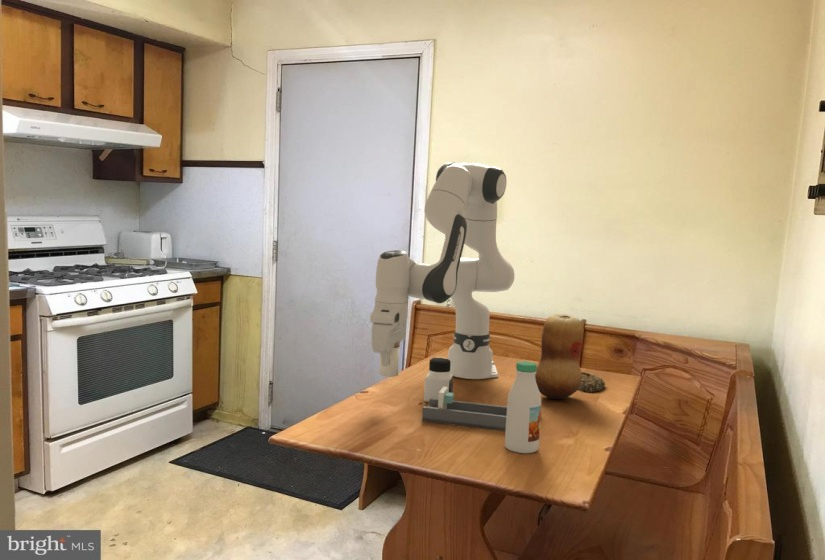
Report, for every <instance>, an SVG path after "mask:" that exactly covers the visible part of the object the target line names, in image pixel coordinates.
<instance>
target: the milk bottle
mask: <svg viewBox="0 0 825 560" xmlns="http://www.w3.org/2000/svg"><path fill="white" fill-rule="evenodd" d="M537 366H538V364H537V363H535V362H533V361H527V360H526V361H524V360H523V361H517V362H516V365H515V372H516V376H515V380H514V382H513V384H512V386H511V388H510V390H509V392H508V397H507V404H506V407H507V415H506V431H504V433H505V435H504V446H505V448H506V449H507V450H509V451H511V452H514V453H517V454H518V453H519V454H533V453H535V452H537V451H538V449H539V447H540V445H539V444H540V432H541V431H540V430H541V415H542V413H541V412H542V398H541V397H542V396H541V393H540V392H539V389H538V387H537V384H536V379H535V374H536V370H537Z"/></svg>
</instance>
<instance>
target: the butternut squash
mask: <svg viewBox="0 0 825 560" xmlns="http://www.w3.org/2000/svg"><path fill="white" fill-rule="evenodd" d="M543 324H544V325H543V328H542V334H541V344H540V346H541V347H540V348H541V351H540V352H541V355H540V360H539V362H538V364H537V370H536V374H535V379H536V384H537V387H538V389H539V392H540V395H542V396H544V397H546V398H548V399H555V400H565V399H566V398H568V397H570V396H572V395H573V394H575V393H576V392H578V391H579V390H578V389H579V387H580V385H581V379H582V373H581V372H582V370H581V366H580V363H579V361H580V356H581V353H582V350H583V345H584V343H583V342H584V333H585V330H584V322H582V321H581V320H580V319H579V318H577V317H575V316H572V315H569V314H566V313H563V314H562V313H561V314H560V313H555V314H551V315H549V317H547V319H546V320H545V322H544V323H543Z"/></svg>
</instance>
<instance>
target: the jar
mask: <svg viewBox="0 0 825 560" xmlns="http://www.w3.org/2000/svg"><path fill="white" fill-rule="evenodd" d="M400 346H401V342H400V341H397V342H396V343H395V345H394V347H393V348H392V349H391V350H390V353H389V359H390V364H389V365H388V366H382V358H381V354H380V353H379V362H378V364H379V366H378V367H379V368H378V375H379V376H381V377H386V378H387V377H388V378H391V377H397V376H399V364H400Z"/></svg>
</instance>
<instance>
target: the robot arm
mask: <svg viewBox="0 0 825 560" xmlns="http://www.w3.org/2000/svg"><path fill="white" fill-rule="evenodd" d="M506 188H507V175H506V174H505V172H504V170H503V168H502V169H501V168H499V167H497V166H493V165H491V166H488V165H485V164H481V163H474V162H472V163H469V162H467V163H466V162H462V163H460V162H459V163H457V162H454V161H451V162H445V163H444V164H442V165H441V166H440V167H439V168H438V170H437V172H436V176H435V182H434V185H433V186H432V188H431V190H430V193H429V194H428V196H427V199H426V201H425V205H424V215H425V218H426V220H427V222H428V224H430V225H431V226H432V227H433V228H434V229H436V230H437V231H439V232H440V233H442V234H443V235H444V237H445V238H444V243H443V247H442V249H441V254H440V257H439V260H438V261H437V262H435V263H434V264H430V263H422V262H417V261H415V260H413V259H412V258H411V257H409V255H408V252H406V251H404V250H388V251H384V252H382V253H381V254H380V255H379V257H378V260H377V265H376V270H375V271H376V272H375V287H376V295H375V298H374V307H373V310H372V312H371V313H370V317H369V321H370V323H372V326H371V348H372V351H373V353H376V354H379V355H380V354H381V358H382V366H388V365H389V364H390V359H389V353H390V350H391V349H392V348H393V347H394V345H395V343H396V342H397V341H400V343H402V342H403V341H405V340H406V335H407V325H406V324H407V320H408V315H409V314H408V311H409V297H410V298H413V299H421V300H427V301H430V302H433V303H437V304H443V303H445V302H447V301H448V300H449V299H450V298H451V300H452V302H453V305H454V311H455V330H454V331H453V332H454V333H453V344H452V345H451V346H450V347H449V348H448V352H447V359H449V360H450V361H451V365H450V374H453V377H456V378H460V379H466V380H467V379H468V380H469V379H470V380H483V379H484V380H485V379H491V378H498V377H499V372H498V369H497V367H496V365H495V362H494V360H493V356H494V351H493V350H492V349H491V348H490V342H491V341H490V340H491V336H490V335H491V334H490V333H489V331H490V317H491V316H490V315H491V313H490V310H489V308H488V307H487V305H484V304H483V303H482V302H480V301H478V300H476V299H475V298H474V297H473V295H472V294H473V293H474V292H481V293H483V292H484V293H498V292H504V291H508V290H510V288H511V287H512V286H513V284H514V281H515V271H514V268H513V266H512V263H510V262H509V261H508V260H507V259H506V258H504V257H503V255H502V253H501V252H500V250H499V247H498V244H497V220H498V219H497V218H498V202H499V200H500V199H501V198H503V196H504V195H505V192H506ZM464 245H465V246H467V248H469V249H472V250H474V251H475V252H477V253H478V257H476V258H475V257H473V258H471V257H462V255H463V251H464Z"/></svg>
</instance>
